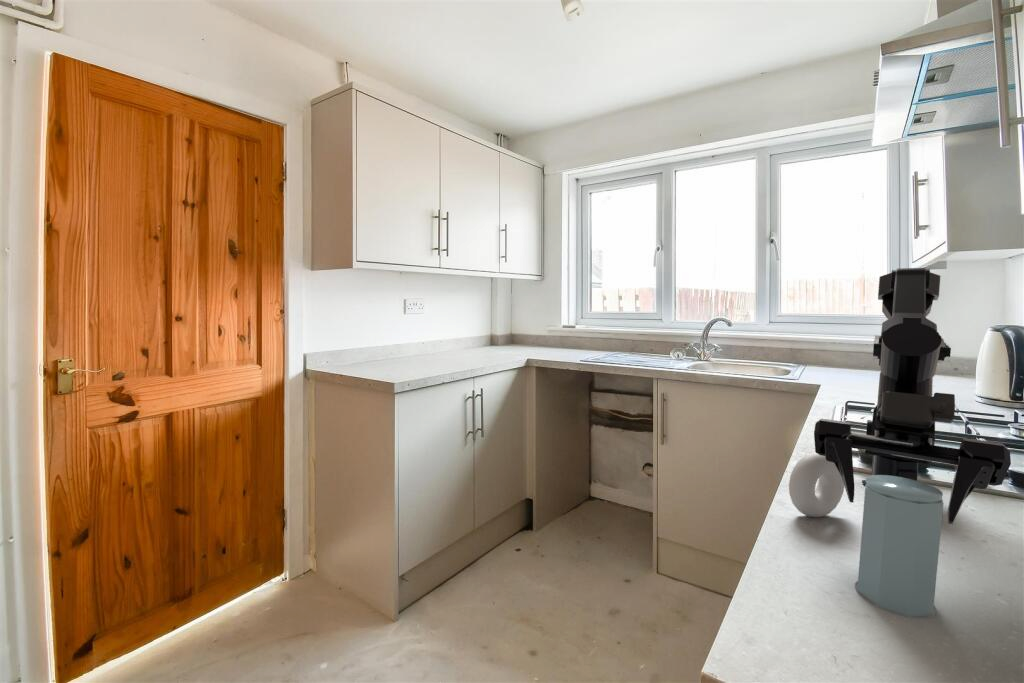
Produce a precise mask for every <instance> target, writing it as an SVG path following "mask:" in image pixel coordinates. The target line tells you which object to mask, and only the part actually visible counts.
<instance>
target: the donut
mask: <svg viewBox="0 0 1024 683" xmlns="http://www.w3.org/2000/svg"><path fill="white" fill-rule="evenodd" d="M816 484H817V486H816ZM844 490H845V486H844V483H843V480H842V477H841V475H840V473H839V471H838V469H837V467H836V466H835V464H834V463H833V462H829V461H827V460H826V459H825V456H822V455H819V454H817V453H816V452H815V451H812V452H810V453H808V454H805V455H804V456H802V457H801V458H800V459H799V460H798V461H797V462H796V464H795V465H794V466H793V468H792V470H791V472H790V475H789V480H788V493H789V497H790V500H791V503H792V505H793V506H794V507H795V508H796V510H797V512H799V513H800V514H802V515H805V516H807V517H809V518H822V517H824V516H826V515H829V514H831V513H832V512H833V511H834V510H835V509H836V508H837V506H838V505H839V503H840V501H841V499H842V497H843V494H844Z"/></svg>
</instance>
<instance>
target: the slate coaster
mask: <svg viewBox="0 0 1024 683" xmlns="http://www.w3.org/2000/svg"><path fill="white" fill-rule="evenodd" d="M857 587H858V580H857V581H856V582H855V583H854V589H855V591H856V593H858V595H859V596H860V597H862V599H864V600H865V601H867V602H868V603H870V604H872V605H873V606H876V607H877V608H879V609H881V610H883V611H886V612H889V613H891V614H895V615H897V616H901V617H906V618H911V619H928V618H932V617H934V616H935V614H936V613H937V609H936V606H935V605H934V608H933V615H924V616H911V617H910V616H907V615H904V614H900V613H897V612H894V611H891V610H888V609H885V608H882V607H879V606H877V605H875V604H874V603H873V602H871V601H870V600H868V599H867V598H866V597H864V596H863V595H862V594H860V593H859V592H857Z"/></svg>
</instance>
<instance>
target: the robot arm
mask: <svg viewBox="0 0 1024 683" xmlns="http://www.w3.org/2000/svg"><path fill="white" fill-rule="evenodd" d="M940 286H941V275H939V274H937V273H933V272H931V269H930V268H927V269H926V268H925V267H910V268H909V267H908V268H907V267H905V268H901V267H900V268H896V269H892V270H891V272H889V273H886V274H884V275H880V276H879V279H878V292H877V300H878V301H881V302H882V304H881V305H882V306H881V308H882V309H881V312H882V313H883V315H884V316H885V318H886V320H884V321H883V322H882V323H881V330H880V335H877V334H876V335H874V340H873V349H872V350H873V351H872V355H873V356H872V358H873V360H878V365H879V367H880V372H879V378H878V379H879V380H878V382H879V383H878V390H877V391H878V392H877V404H876V406H875V407H874V408H873V411H872V420H871V419H867V421H866V422H867V424H866V431H865V432H866V433H864V434H863V433H855V432H852V422H851V421H850V422H848V421H843V420H842V421H841V420H835V419H827V418H820V419H819V420H817V421H816V422H815V424H814V431H813V432H814V433H813V438H814V439H813V441H814V452H816V453H817V454H819V455H822V456H825V459H826V460H827V461H829V462H833V463H834V464H835V466H836V467H837V469H838V471H839V473H840V475H841V477H842V480H843V483H844V490H845V492H846V494H847V498H848V501H849V503H854V499H855V476H854V465H853V464H854V461H853V449H857V450H862V451H863V450H864V455H867V456H869V455H870V456H871V455H872V465H871V476H872V475H889V476H897V477H903V478H908V479H912V480H916V481H918V477H919V473H918V468H919V464H923V465H928V464H931V463H932V464H933V462H934V463H940V464H947V465H950V466H951V465H952V466H955V468H956V469H955V470H956V471H955V474H954V477H953V480H952V485H951V490H950V495H949V496H950V497H949V503H948V508H947V511H946V512H947V513H946V514H947V524H948V525H953V524H954V523H955V520H956V518H957V516H958V514H959V511H960V510H961V508H962V506H963V504H964V503H965V500H967V498H968V497H969V496H970V495H971V493H972V492H973V491H974V490H975V489H979V490H986V489H987V488H988V486H992V487H993V486H995V487H996V486H1002V485H1003V483H1004V480H1005V478H1006V476H1007V474H1008V472H1009V470H1010V469H1009V468H1010V467H1011V464H1012V460H1011V459H1012V458H1011V451H1010V449H1009V448H1008V447H1007V446H1006V445H1004V443H1002V442H995V441H988V440H981V439H973V438H968V437H967V438H966V437H962V439H961V443H960V445H959V448H954V447H948V446H940V445H936V437H935V435H936V434H935V433H936V422H938V423H945V424H952V423H953V422H954V419H955V414H956V412H955V411H956V398H955V397H956V396H955V394H954V393H945V392H934V393H933V384H934V383H933V381H934V380H933V379H934V376H935V375H936V372H937V368H938V364H942V363H943V362H945V359H946V358H947V357H948V358H951V353H952V348H951V347H950V346H949V345H947V342H945V340H944V338H942V335H940V333H939V332H938V325H937V323H936V322H934V321H932V320H930V319H928V318H927V317H928V316H929V314H930V313H931V311H932V306H933V302H934V301H938V300H939V297H940ZM861 483H862V484H864V485H865V486H866V479H862V480H861Z"/></svg>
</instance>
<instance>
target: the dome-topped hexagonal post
mask: <svg viewBox="0 0 1024 683" xmlns="http://www.w3.org/2000/svg"><path fill="white" fill-rule="evenodd" d="M865 480H866V485H865V487H864V488H865V489H864V499H863V513H862V522H861V523H862V525H861V538H860V552H859V561H858V562H859V563H858V564H859V565H858V574H857V576H858V577H857V581H858V587H857V591H856V593H857V592H859V593H860V594H862V595H863V596H864V597H866V598H867V599H868V600H870V601H871V602H873V603H874V604H875V605H877V606H879V607H882V608H885V609H888V610H891V611H894V612H897V613H900V614H904V615H907V616H910V617H909V618H911V616H924V615H933V608H934V606H935V598H936V597H935V595H936V584H937V573H938V564H939V554H940V553H939V552H940V544H941V543H940V541H941V534H942V533H941V532H942V531H941V530H942V520H943V511H944V510H943V509H944V501H943V495H944V494H943V492H942V490H940V489H939V488H937V487H936V486H933V485H930V484H928V483H925V482H922V481H919V480H917V481H916V480H912V479H908V478H903V477H897V476H889V475H872V474H871V475H869V476H866V478H865ZM875 605H874V606H875ZM877 606H876V607H877ZM879 607H878V608H879Z"/></svg>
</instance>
